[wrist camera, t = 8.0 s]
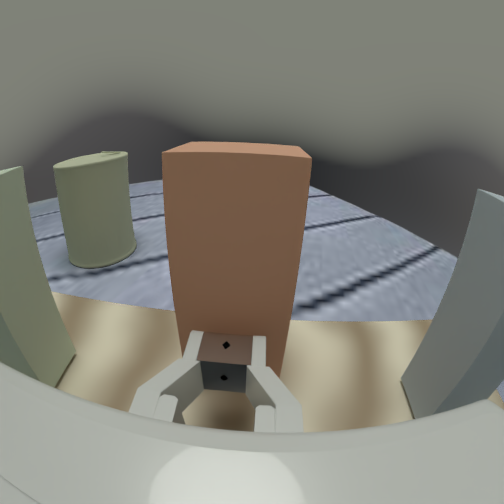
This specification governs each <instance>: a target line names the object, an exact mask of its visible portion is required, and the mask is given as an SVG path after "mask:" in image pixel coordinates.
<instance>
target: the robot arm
mask: <svg viewBox="0 0 504 504" xmlns="http://www.w3.org/2000/svg"><path fill="white" fill-rule="evenodd" d="M252 342H253V343H252ZM204 389H208V390H220V391H230V392H239V393H245V394H246V396H247V397H248V399H249V401H250V402H251V404H252V406H253V407H254V409H255V418H254V426H253V432H250V431H235V430H224V429H215V428H207V427H199V426H192V425H186V424H185V421H184V418H183V415H182V412H183V411H184V410H185V409H186V408H187V407H188V406H189V405H190V404H191V403H192V402H193V401H194V400H195V399H196V398H197V397H198V396H199V395H200V394H201V393H202V392H203V391H204ZM0 504H504V410H503V409H502V408H500V407H499V406H498V405H496V404H495V403H493V402H492V401H490V400H487V399H483V400H480V401H477V402H474V403H471V404H468V405H465V406H462V407H459V408H455V409H452V410H449V411H445V412H442V413H438V414H434V415H430V416H426V417H422V418H417V419H413V420H408V421H403V422H398V423H392V424H387V425H380V426H374V427H366V428H358V429H349V430H338V431H324V432H304V429H303V416H302V405H301V404H300V403H299V402H298V400H297V399H296V398H295V397H294V396H293V395H292V393H291V392H290V391H289V390H288V389H287V387H286V386H285V385H284V384H283V383H282V381H281V380H280V379H279V378H278V377H277V375H276V374H275V373H274V372H273V370H272V369H271V368H270V367H266V336H252V335H235V334H222V333H213V332H205V331H204V332H203V331H195V330H192V331H191V333H190V335H189V339H188V342H187V345H186V348H185V351H184V355H183V358H182V359H180V358H179V359H177V360H176V361H175V362H173V363H172V364H170V365H169V366H168V367H166V368H165V369H164V370H162V371H161V372H159V373H158V374H157V375H155V376H154V377H153V378H151V379H150V380H148V381H147V382H146V383H144V384H143V385H141V386H140V387H138V389H137V391H136V394H135V396H134V399H133V402H132V404H131V407H130V409H129V412H125V411H121V410H118V409H114V408H111V407H107V406H104V405H101V404H98V403H95V402H92V401H89V400H86V399H83V398H80V397H77V396H74V395H72V394H69V393H66V392H64V391H61V390H59V389H56V388H54V387H52V386H49V385H47V384H45V383H42V382H40V381H38V380H36V379H33V378H31V377H29V376H27V375H25V374H23V373H21V372H19V371H17V370H15V369H13V368H11V367H9V366H7V365H6V364H4V363H2V362H0Z"/></svg>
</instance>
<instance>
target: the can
mask: <svg viewBox="0 0 504 504" xmlns="http://www.w3.org/2000/svg"><path fill="white" fill-rule="evenodd" d="M53 169H54V173H55V180H56V188H57V194H58V201H59V207H60V213H61V218H62V223H63V228H64V233H65V238H66V243H67V248H68V253H69V260H70V262H71V263H72V264H73V265H75V266H77V267H81V268H99V267H105V266H109V265H112V264H115V263H117V262H120V261H122V260H123V259H125V258H127V257H128V256H129V255H131V254H132V253H133V252H134V250H135V248H136V240H135V237H134V231H133V224H132V216H131V206H130V196H129V183H128V153H127V152H102V153H98V154H92V155H86V156H82V157H77V158H73V159H69V160H66V161H63V162H60V163H58V164H56V165H54V167H53Z"/></svg>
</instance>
